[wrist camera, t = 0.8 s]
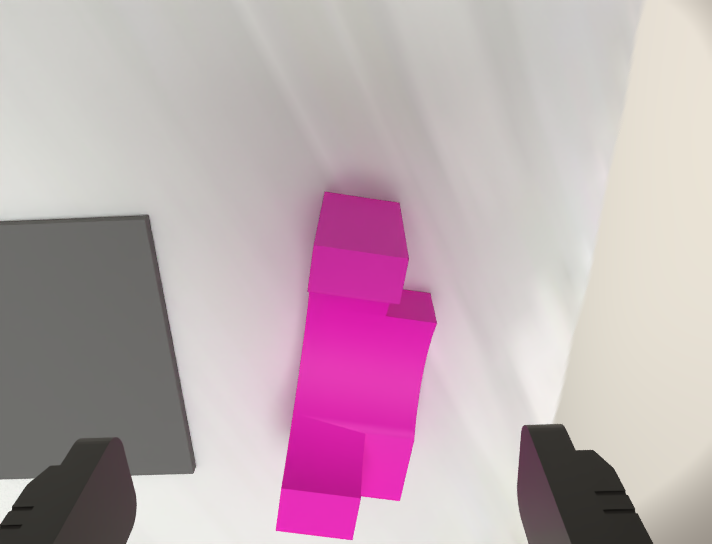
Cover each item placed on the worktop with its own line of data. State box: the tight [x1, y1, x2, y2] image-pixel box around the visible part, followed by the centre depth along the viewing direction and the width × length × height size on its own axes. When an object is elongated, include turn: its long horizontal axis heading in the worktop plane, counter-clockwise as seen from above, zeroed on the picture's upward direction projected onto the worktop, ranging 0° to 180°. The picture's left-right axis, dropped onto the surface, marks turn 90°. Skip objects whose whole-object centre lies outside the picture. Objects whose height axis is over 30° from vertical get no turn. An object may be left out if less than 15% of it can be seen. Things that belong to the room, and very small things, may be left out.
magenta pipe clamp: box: [276, 192, 437, 540], centre depth 31 cm, size 15×6×8 cm, turn 171°
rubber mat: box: [0, 216, 196, 479], centre depth 35 cm, size 16×12×1 cm
